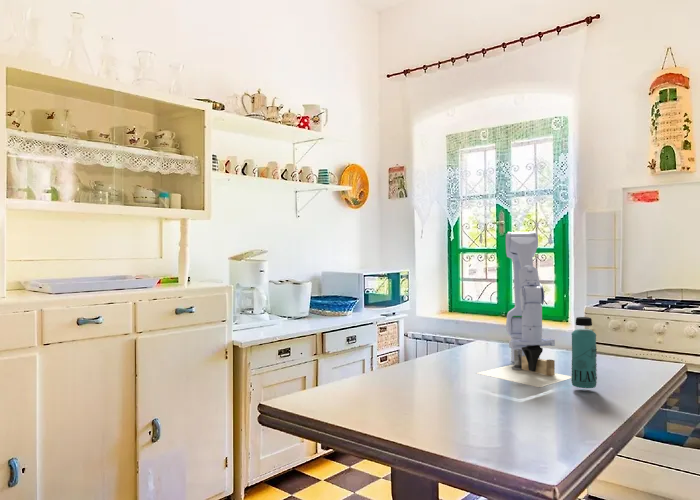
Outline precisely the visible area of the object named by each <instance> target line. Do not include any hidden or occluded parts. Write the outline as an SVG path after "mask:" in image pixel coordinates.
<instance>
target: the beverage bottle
mask: <svg viewBox="0 0 700 500" xmlns="http://www.w3.org/2000/svg"><path fill="white" fill-rule="evenodd" d="M592 321H593V320H592V317H587V316H578V317H576V318H575V325H576V326H579V327H589V326H590V327H591V326H593V322H592ZM597 350H598V348H597V333H596V332H595V331H594V330H592V329H588V328H576V329H574V330H573V331H572V332H571V372H570V374H571V376H572V378H571V379H570V380H571V384H572V386H573V387H576V388H580V389H594V388H596V387H597V384H598V382H597V380H598V376H597V367H598V366H597V355H598V354H597V353H598V352H597Z"/></svg>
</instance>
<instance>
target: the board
mask: <svg viewBox="0 0 700 500" xmlns="http://www.w3.org/2000/svg"><path fill="white" fill-rule="evenodd" d="M512 366H514V364H509V365H504V366H500V367H496V368H491V369H488V370H482V371H479V372H476V374H478V375H480V376H481V375H482V376H487V377H492V378H495V379H500V380H504V381H509V382H514V383H518V384H521V385H522V384H523V385H527V386H532V387H536V388H543V387H547V386H549V385H553V384H557V383H560V382H564V381H566V380H571V379H572V375H571V376H570V375H567V374H562V373H561V374H560V373H556V372H555V375H553V376H549V375H545V374H541V373H536V372H532V371H528V370H513V369H512Z"/></svg>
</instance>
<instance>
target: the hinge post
mask: <svg viewBox="0 0 700 500" xmlns="http://www.w3.org/2000/svg"><path fill="white" fill-rule="evenodd" d="M513 365H514V366H512V369H513V370H523V369H522V350H521V349H514V362H513Z"/></svg>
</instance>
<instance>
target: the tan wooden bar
mask: <svg viewBox="0 0 700 500" xmlns="http://www.w3.org/2000/svg"><path fill="white" fill-rule="evenodd" d="M548 359H549V358H548ZM555 362H556V361H555V359H549V360H547V359H543V358H540V359H539V358H538V361H537V364H536V371H535V372H536V373H541V374H545V375H549V376H553V375H555V373H556V372H555V369H556V368H555V366H556V365H555ZM522 369H523V370H528V371H530V370H529V368H528V361H527V358H526V356H522Z"/></svg>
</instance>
